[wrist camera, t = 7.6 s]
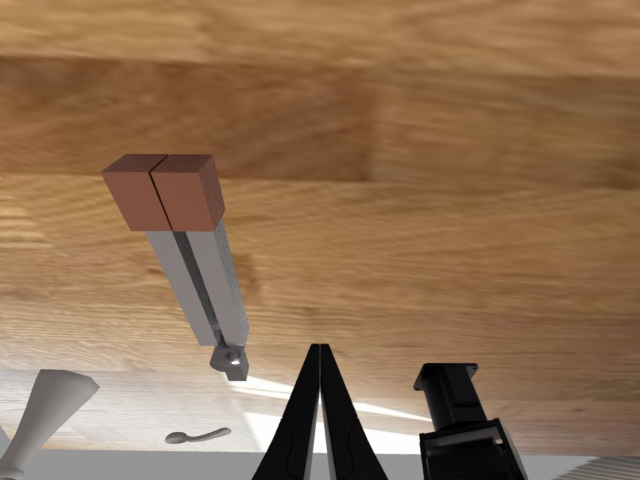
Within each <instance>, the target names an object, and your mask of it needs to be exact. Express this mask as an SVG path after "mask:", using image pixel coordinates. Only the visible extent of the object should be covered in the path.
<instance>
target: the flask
mask: <svg viewBox="0 0 640 480" xmlns="http://www.w3.org/2000/svg"><path fill="white" fill-rule="evenodd" d="M99 388H100V387H99V386H98V385H97V383H96V382H95V381H94V380H93V379H92V378H91V377H88V376H85V375H81V374H78V373H74V372H71V371H67V370H55V369H41V370H40V372H39V373H38V375H37V377H36V380H35V382H34V385H33V388H32V391H31V394H30V397H29V400H28V402H27V405H26V408H25V411H24V413H23V416H22V418H21V421H20V424H19V426H18V429H17V431H16V434H15V436H14V438H13V439H12V441H11V443H10V445H9V447H8V449H7V450H6V452H5V454H4V455H3V456H2V458H1V459H0V480H22V479H23V477H24V471H25V469H26V467H27V466H28V464H29V463H30V461H31V460H32V458H33V457H34V456H35V454H36V453H37V452H38V451H39V449H40V448H41V447H42V446H43V445H44V443H45V442H46V441H47V440H48V439H49V438H50V437H51V436H52V435H53V434H54V433H55V432H56V431H57V430H58V429H59V428H60V427H61V426H62V425H63V424H64V423H65V422H66V421H67V420H68V419H69V418H70V417H71V416H72V415H73V414H74V413H75V412H76V411H77V410H78V409H80V408H81V407H82V406H83V405H84V404H85V403H86V402H87V401H88V400H89V399H90V398H91V397H92V396H93V395H94V394H95V393H96V392H97V391H98V389H99Z"/></svg>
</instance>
